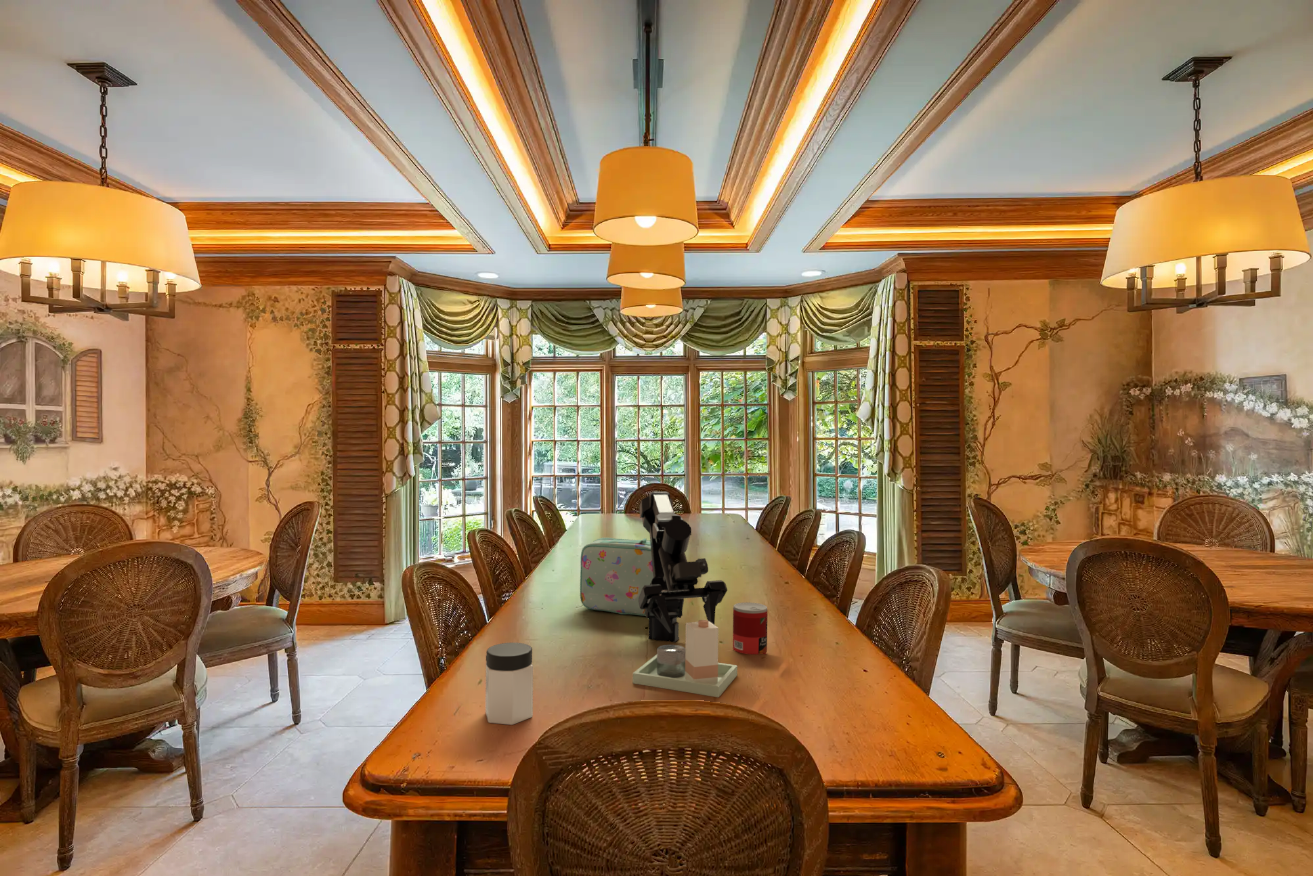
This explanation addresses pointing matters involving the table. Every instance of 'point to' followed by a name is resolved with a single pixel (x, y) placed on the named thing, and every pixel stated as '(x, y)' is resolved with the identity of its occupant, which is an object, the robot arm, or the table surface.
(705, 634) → the oat carton
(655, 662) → the tray
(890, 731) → the table surface
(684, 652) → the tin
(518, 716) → the jar
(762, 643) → the canned food
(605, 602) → the lunch box
